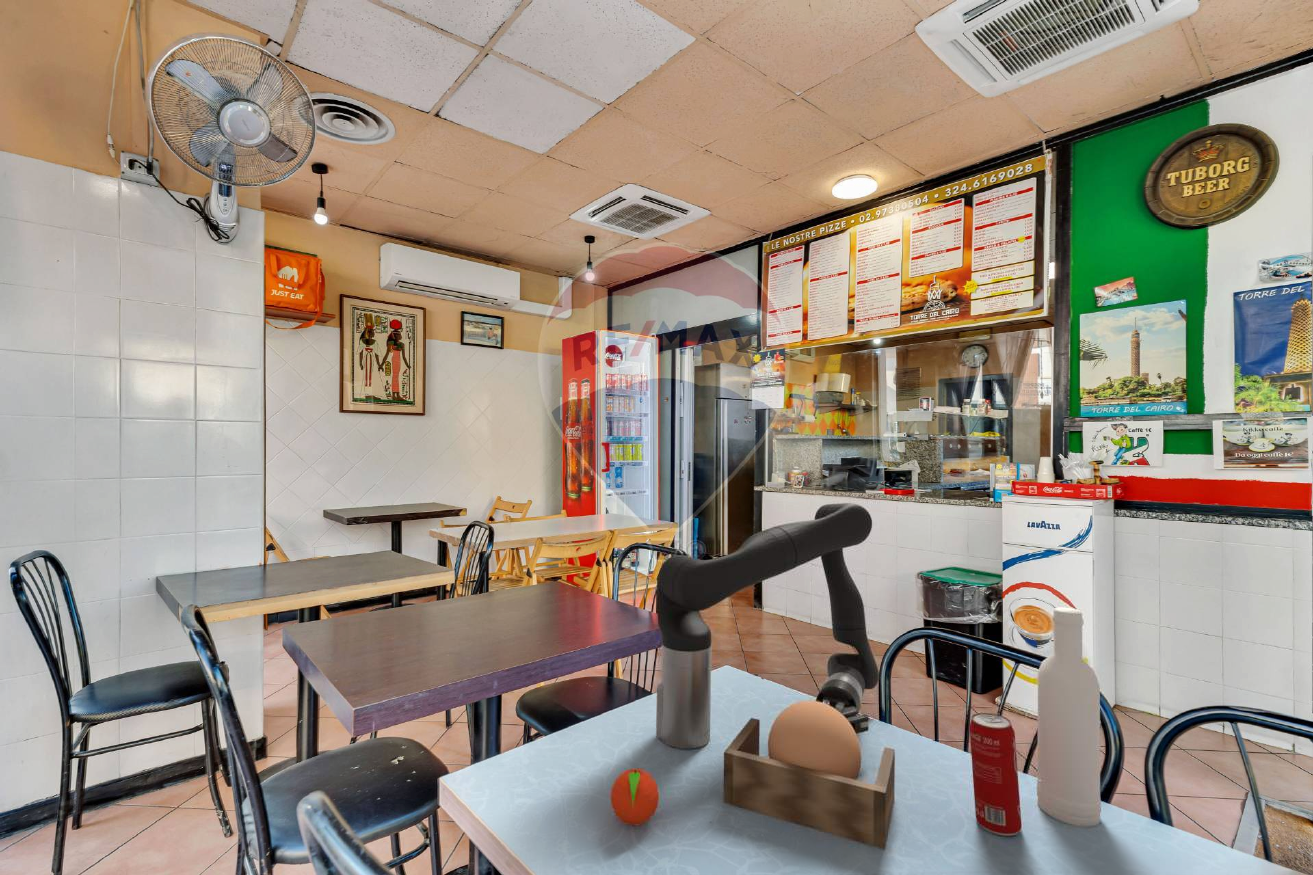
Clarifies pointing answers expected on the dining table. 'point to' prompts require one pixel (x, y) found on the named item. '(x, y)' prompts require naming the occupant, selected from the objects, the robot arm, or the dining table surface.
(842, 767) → the ball
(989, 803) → the beverage can
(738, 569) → the robot arm
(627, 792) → the clementine
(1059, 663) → the bottle
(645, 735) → the dining table surface
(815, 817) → the pocket
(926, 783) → the dining table surface
